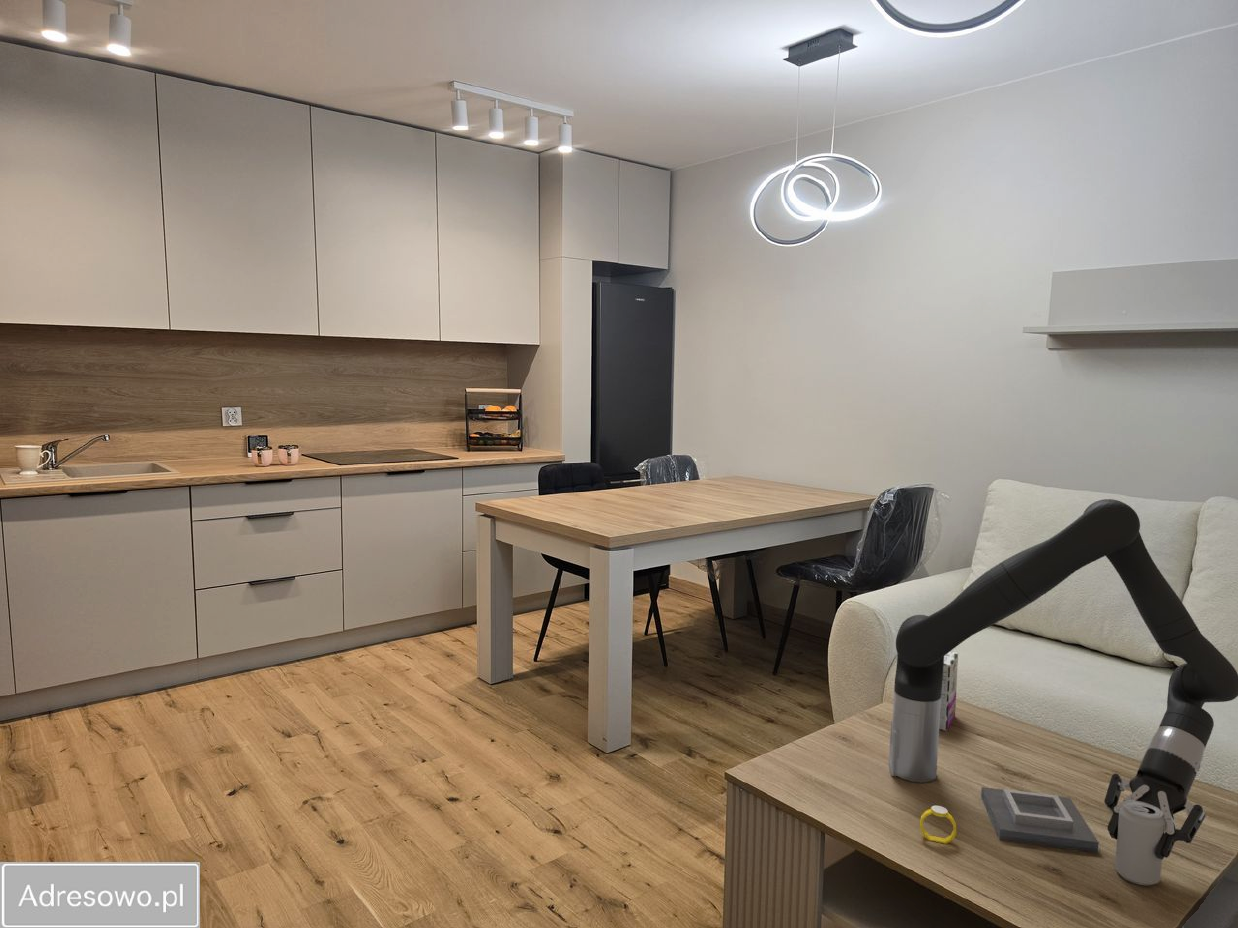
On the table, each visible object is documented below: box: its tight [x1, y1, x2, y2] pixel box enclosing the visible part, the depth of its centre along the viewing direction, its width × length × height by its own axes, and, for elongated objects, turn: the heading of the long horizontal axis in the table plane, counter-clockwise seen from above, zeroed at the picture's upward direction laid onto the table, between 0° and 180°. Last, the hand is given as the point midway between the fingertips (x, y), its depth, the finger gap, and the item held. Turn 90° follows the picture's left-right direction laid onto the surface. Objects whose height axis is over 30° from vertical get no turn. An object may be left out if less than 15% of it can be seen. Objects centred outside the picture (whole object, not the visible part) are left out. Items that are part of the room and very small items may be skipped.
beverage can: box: [1114, 800, 1165, 887], centre depth 134 cm, size 6×6×12 cm
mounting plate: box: [980, 786, 1100, 854], centre depth 151 cm, size 16×16×4 cm
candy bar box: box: [939, 650, 959, 732], centre depth 196 cm, size 11×5×16 cm, turn 148°
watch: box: [919, 805, 957, 845], centre depth 145 cm, size 6×3×6 cm, turn 69°
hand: (1135, 846), depth 133 cm, fingers closed on beverage can, 6 cm apart
